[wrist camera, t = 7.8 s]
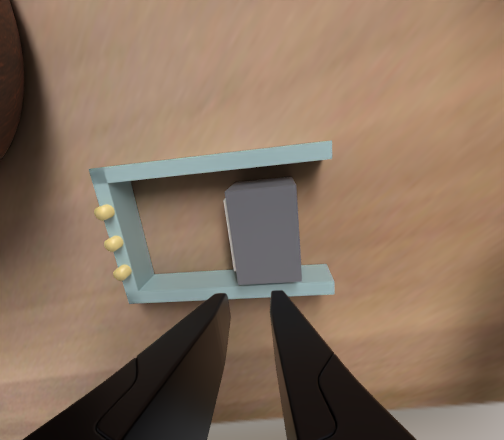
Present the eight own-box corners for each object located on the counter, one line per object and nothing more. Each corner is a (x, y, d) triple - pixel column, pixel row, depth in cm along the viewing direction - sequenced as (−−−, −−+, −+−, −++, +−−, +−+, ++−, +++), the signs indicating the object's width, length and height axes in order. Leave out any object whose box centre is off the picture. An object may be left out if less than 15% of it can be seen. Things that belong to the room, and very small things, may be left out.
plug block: (291, 176, 17) (296, 184, 13) (296, 253, 19) (302, 281, 15) (231, 182, 17) (219, 192, 14) (241, 257, 19) (233, 285, 15)
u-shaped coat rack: (323, 141, 16) (334, 140, 13) (326, 275, 19) (337, 300, 16) (113, 165, 18) (80, 170, 15) (145, 285, 20) (123, 309, 17)
